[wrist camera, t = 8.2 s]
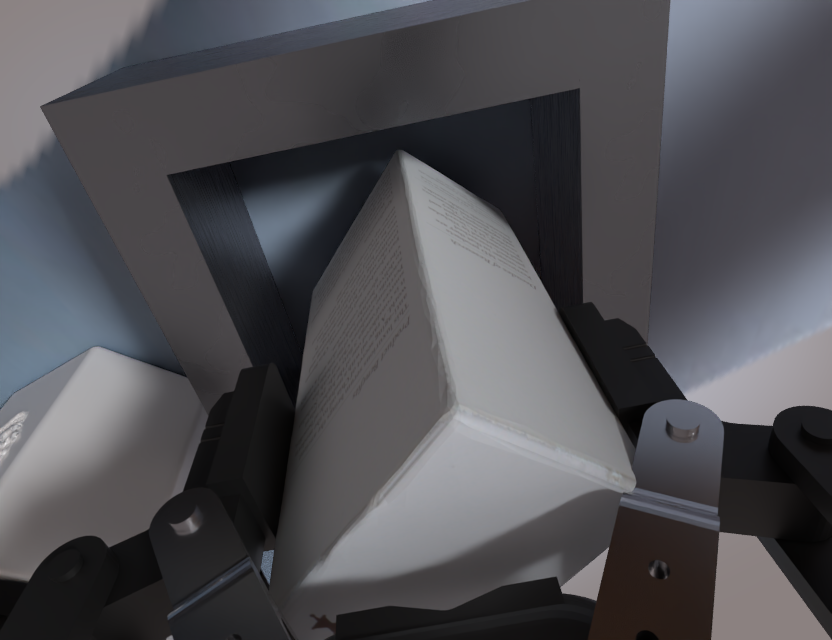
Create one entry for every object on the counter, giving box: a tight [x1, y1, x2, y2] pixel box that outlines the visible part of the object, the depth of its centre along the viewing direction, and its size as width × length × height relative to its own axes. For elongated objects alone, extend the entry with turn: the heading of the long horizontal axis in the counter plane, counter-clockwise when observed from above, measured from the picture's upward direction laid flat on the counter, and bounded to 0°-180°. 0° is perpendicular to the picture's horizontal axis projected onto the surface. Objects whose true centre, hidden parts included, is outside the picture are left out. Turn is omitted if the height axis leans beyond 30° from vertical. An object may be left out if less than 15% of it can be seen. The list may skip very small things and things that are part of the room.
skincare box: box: [269, 149, 637, 640], centre depth 14 cm, size 6×4×12 cm
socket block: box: [41, 0, 670, 416], centre depth 18 cm, size 14×14×5 cm
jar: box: [0, 346, 208, 640], centre depth 19 cm, size 9×8×12 cm
